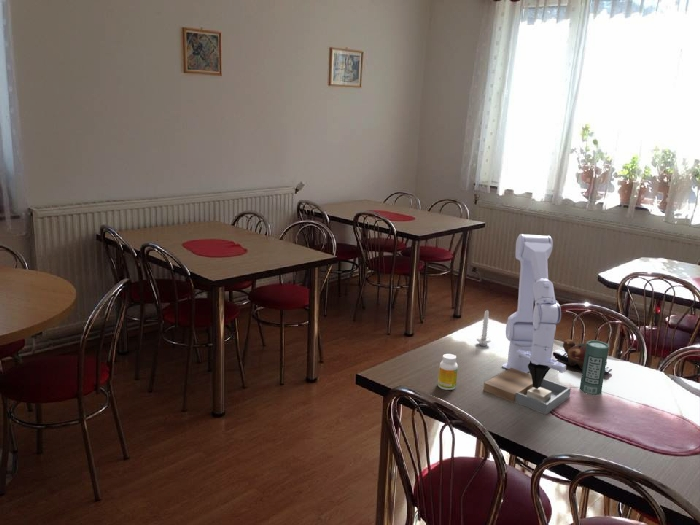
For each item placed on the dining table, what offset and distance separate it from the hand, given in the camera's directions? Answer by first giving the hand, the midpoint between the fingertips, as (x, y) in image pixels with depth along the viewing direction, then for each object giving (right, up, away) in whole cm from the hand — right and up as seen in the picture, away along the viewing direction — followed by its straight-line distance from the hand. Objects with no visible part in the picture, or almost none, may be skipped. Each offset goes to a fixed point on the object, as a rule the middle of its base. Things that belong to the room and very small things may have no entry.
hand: (536, 387), depth 181 cm
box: (+1, -3, 0) cm, 4 cm away
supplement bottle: (-25, -1, +5) cm, 26 cm away
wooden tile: (+1, -3, 0) cm, 3 cm away
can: (+18, -3, +7) cm, 20 cm away
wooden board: (-6, -1, +6) cm, 8 cm away
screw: (-8, +7, +38) cm, 39 cm away
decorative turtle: (+22, +2, +23) cm, 32 cm away
